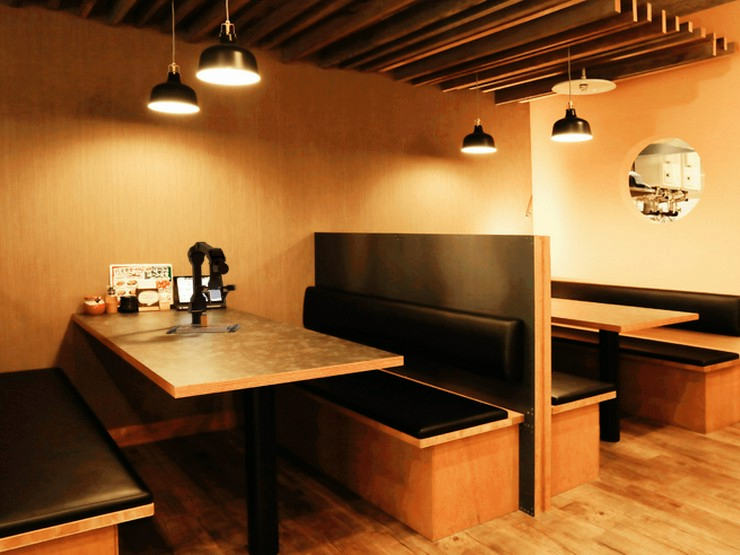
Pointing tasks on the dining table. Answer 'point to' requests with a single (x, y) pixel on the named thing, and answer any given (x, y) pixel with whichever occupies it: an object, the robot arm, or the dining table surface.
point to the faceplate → (204, 328)
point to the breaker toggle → (204, 320)
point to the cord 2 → (235, 328)
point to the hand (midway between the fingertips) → (216, 305)
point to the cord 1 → (173, 329)
